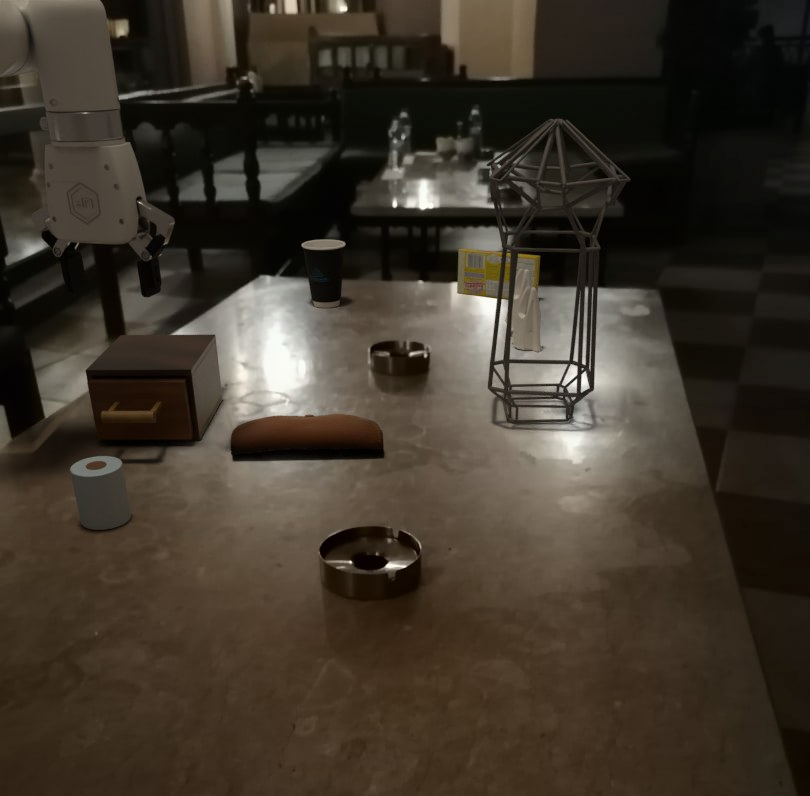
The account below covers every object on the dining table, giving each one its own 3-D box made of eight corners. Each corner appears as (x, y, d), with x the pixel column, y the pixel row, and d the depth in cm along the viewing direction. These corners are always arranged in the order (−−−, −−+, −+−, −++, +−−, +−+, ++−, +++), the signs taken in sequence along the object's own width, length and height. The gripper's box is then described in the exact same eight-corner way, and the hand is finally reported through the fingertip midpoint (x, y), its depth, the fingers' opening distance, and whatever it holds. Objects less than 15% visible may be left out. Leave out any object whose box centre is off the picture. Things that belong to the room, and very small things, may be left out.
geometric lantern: (479, 390, 126) (488, 114, 109) (593, 392, 125) (620, 113, 108) (478, 433, 113) (487, 124, 96) (606, 436, 111) (638, 124, 94)
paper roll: (74, 530, 91) (62, 475, 88) (90, 507, 96) (79, 455, 93) (123, 530, 91) (113, 475, 88) (137, 507, 96) (128, 454, 93)
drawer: (182, 455, 105) (173, 396, 102) (84, 456, 105) (72, 396, 102) (213, 400, 121) (207, 347, 118) (129, 401, 122) (120, 347, 118)
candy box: (538, 300, 169) (541, 255, 165) (534, 303, 168) (536, 257, 164) (461, 290, 177) (462, 247, 173) (456, 293, 175) (457, 249, 171)
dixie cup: (343, 298, 173) (341, 238, 167) (351, 308, 166) (349, 246, 161) (302, 300, 171) (298, 240, 166) (308, 311, 164) (304, 249, 159)
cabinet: (200, 440, 111) (191, 369, 107) (98, 441, 112) (85, 370, 107) (222, 399, 124) (215, 334, 120) (131, 400, 124) (120, 335, 120)
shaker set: (504, 331, 152) (506, 263, 147) (528, 330, 152) (532, 263, 147) (515, 352, 142) (518, 280, 136) (542, 351, 142) (546, 280, 136)
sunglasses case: (383, 426, 114) (382, 391, 108) (384, 472, 110) (384, 439, 104) (239, 429, 113) (230, 395, 107) (236, 476, 110) (227, 443, 104)
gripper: (-7, 131, 95) (29, 296, 103) (141, 133, 90) (165, 304, 99) (37, 125, 101) (67, 281, 109) (177, 127, 97) (197, 288, 105)
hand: (114, 292), depth 104 cm, fingers open, 9 cm apart
